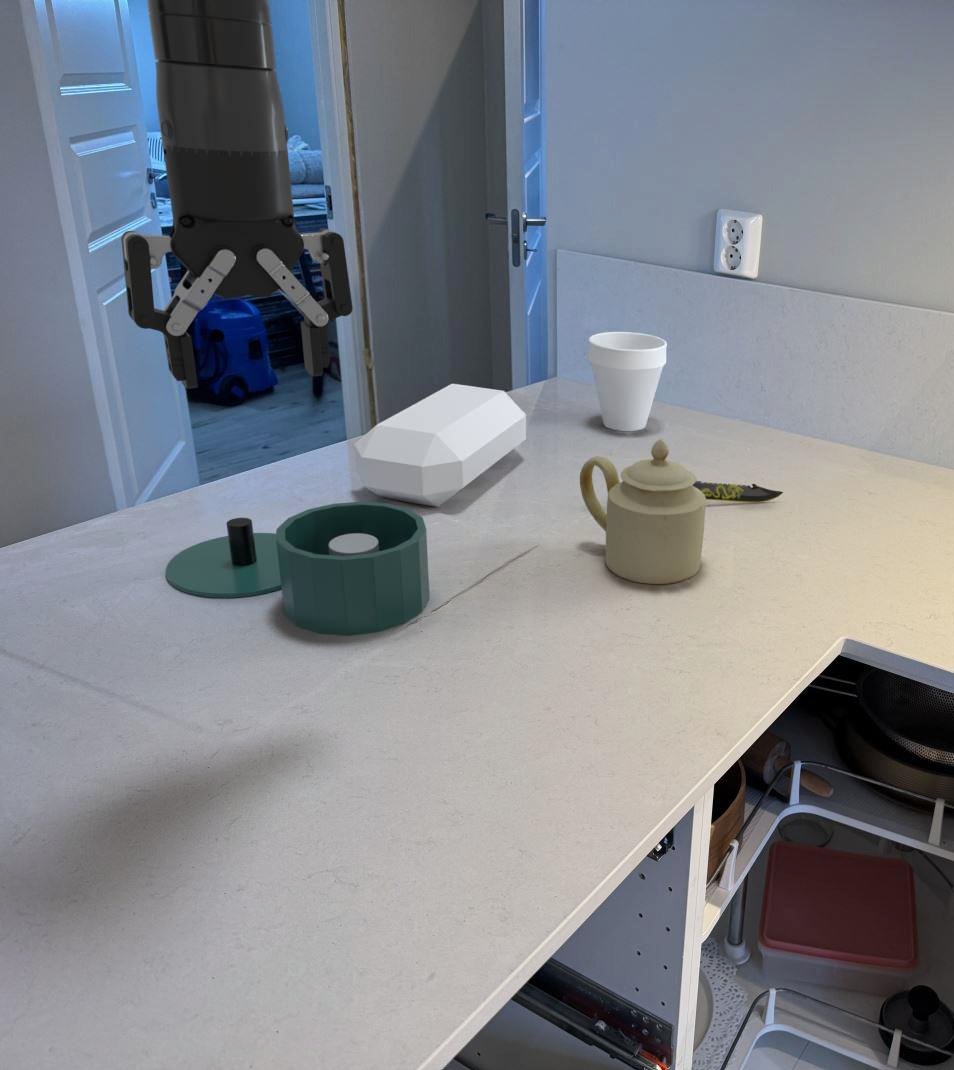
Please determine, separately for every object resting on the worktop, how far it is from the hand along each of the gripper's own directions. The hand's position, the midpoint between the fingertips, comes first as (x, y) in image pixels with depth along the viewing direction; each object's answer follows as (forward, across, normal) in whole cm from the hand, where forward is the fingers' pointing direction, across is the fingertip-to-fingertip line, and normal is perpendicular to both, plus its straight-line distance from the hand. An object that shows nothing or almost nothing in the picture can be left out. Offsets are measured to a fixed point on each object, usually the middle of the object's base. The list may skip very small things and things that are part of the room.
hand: (253, 379), depth 72 cm
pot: (+28, -10, -14) cm, 33 cm away
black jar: (+28, -10, -14) cm, 33 cm away
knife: (+28, -57, -20) cm, 67 cm away
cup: (+28, -66, -53) cm, 90 cm away
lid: (+28, -3, -27) cm, 39 cm away
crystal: (+28, -32, -44) cm, 61 cm away
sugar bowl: (+28, -41, -10) cm, 50 cm away
